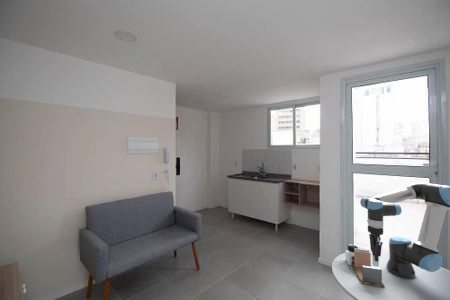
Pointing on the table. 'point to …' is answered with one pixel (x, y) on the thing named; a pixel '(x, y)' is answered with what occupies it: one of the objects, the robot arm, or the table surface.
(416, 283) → the table surface
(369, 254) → the books
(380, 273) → the bookend
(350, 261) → the container
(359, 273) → the shelf
